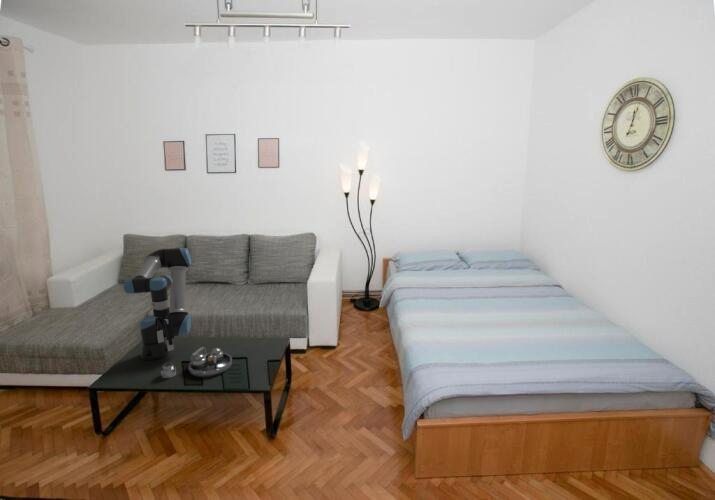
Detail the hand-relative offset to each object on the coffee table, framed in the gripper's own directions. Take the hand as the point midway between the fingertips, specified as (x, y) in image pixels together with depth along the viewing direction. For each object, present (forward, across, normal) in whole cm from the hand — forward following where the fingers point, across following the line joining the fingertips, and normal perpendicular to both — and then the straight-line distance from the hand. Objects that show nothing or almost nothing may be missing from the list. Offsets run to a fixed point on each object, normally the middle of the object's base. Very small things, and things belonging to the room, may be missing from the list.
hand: (165, 346), depth 206 cm
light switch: (+16, 0, +16) cm, 23 cm away
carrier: (+16, +8, +19) cm, 27 cm away
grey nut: (+16, 0, 0) cm, 17 cm away
